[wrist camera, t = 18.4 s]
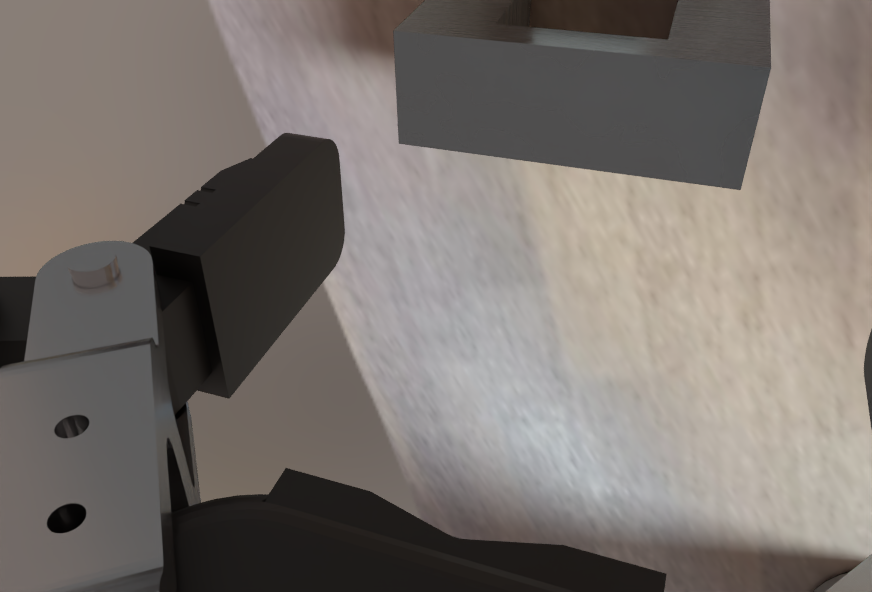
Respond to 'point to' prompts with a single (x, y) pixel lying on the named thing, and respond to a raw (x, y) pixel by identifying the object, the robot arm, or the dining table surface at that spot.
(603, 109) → the u-shaped slotted block
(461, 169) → the dining table surface
